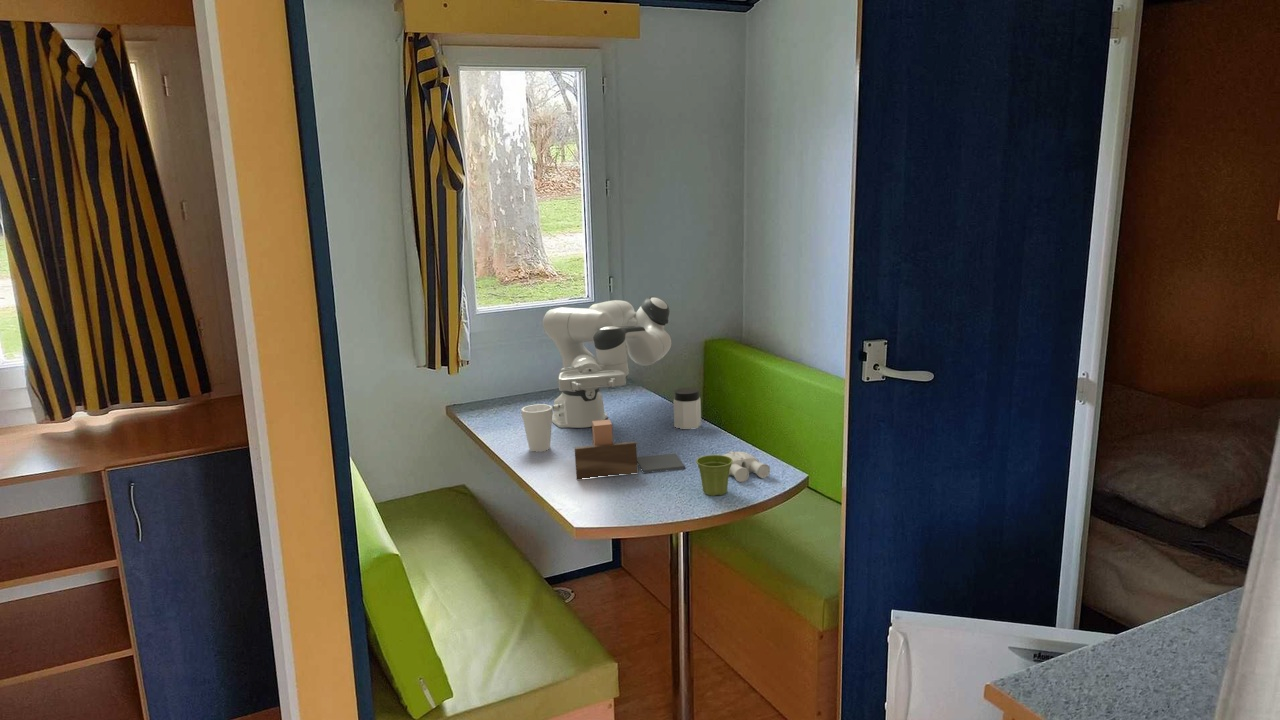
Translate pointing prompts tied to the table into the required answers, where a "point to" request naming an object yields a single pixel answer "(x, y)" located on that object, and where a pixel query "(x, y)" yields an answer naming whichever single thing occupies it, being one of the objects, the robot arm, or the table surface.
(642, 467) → the slate pad
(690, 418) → the jar
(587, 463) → the low board
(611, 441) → the marked block
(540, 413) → the foam cup
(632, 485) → the table surface
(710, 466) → the plant pot
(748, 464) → the binoculars
